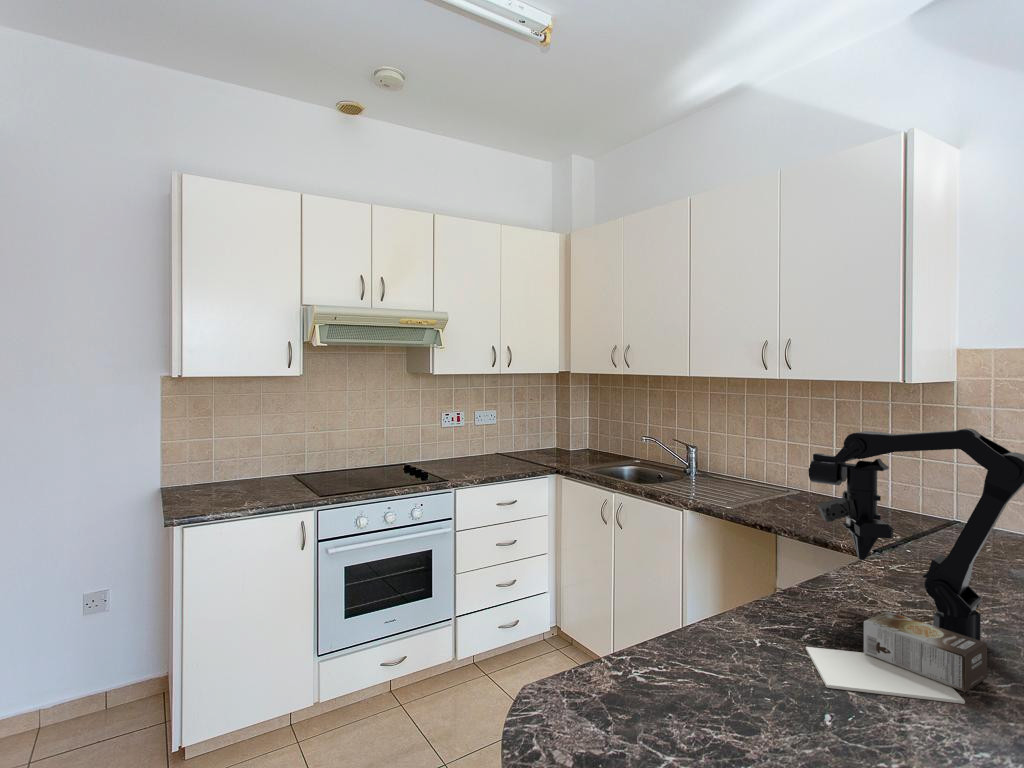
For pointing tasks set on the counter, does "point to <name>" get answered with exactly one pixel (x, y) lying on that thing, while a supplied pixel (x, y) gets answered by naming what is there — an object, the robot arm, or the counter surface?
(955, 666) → the coffee box
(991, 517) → the robot arm
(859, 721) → the counter surface
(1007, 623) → the counter surface
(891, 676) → the mat
